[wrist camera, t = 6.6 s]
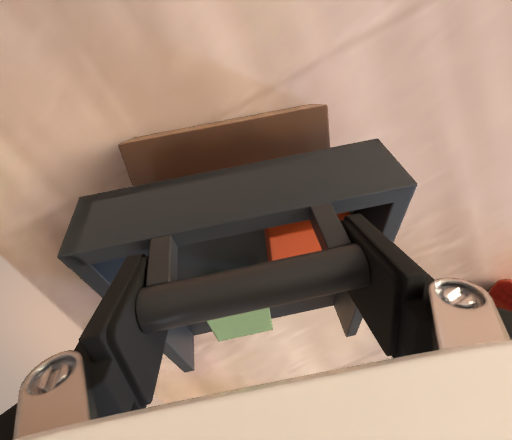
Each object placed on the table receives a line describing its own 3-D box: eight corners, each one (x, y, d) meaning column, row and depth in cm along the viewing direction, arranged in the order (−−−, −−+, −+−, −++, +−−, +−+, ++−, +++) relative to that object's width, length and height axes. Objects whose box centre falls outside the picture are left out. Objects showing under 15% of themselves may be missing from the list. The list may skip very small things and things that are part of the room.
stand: (133, 137, 21) (117, 144, 18) (311, 103, 21) (327, 104, 18) (188, 302, 27) (184, 329, 24) (326, 273, 28) (339, 296, 24)
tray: (75, 191, 12) (12, 348, 8) (379, 131, 13) (484, 248, 8) (184, 330, 24) (184, 424, 20) (340, 297, 24) (374, 381, 20)
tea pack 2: (260, 207, 14) (268, 238, 13) (339, 191, 14) (355, 220, 13) (268, 263, 18) (275, 292, 16) (330, 250, 18) (342, 277, 16)
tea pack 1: (199, 282, 18) (200, 312, 17) (261, 269, 18) (267, 297, 17) (216, 315, 22) (218, 342, 20) (267, 304, 22) (273, 330, 20)
